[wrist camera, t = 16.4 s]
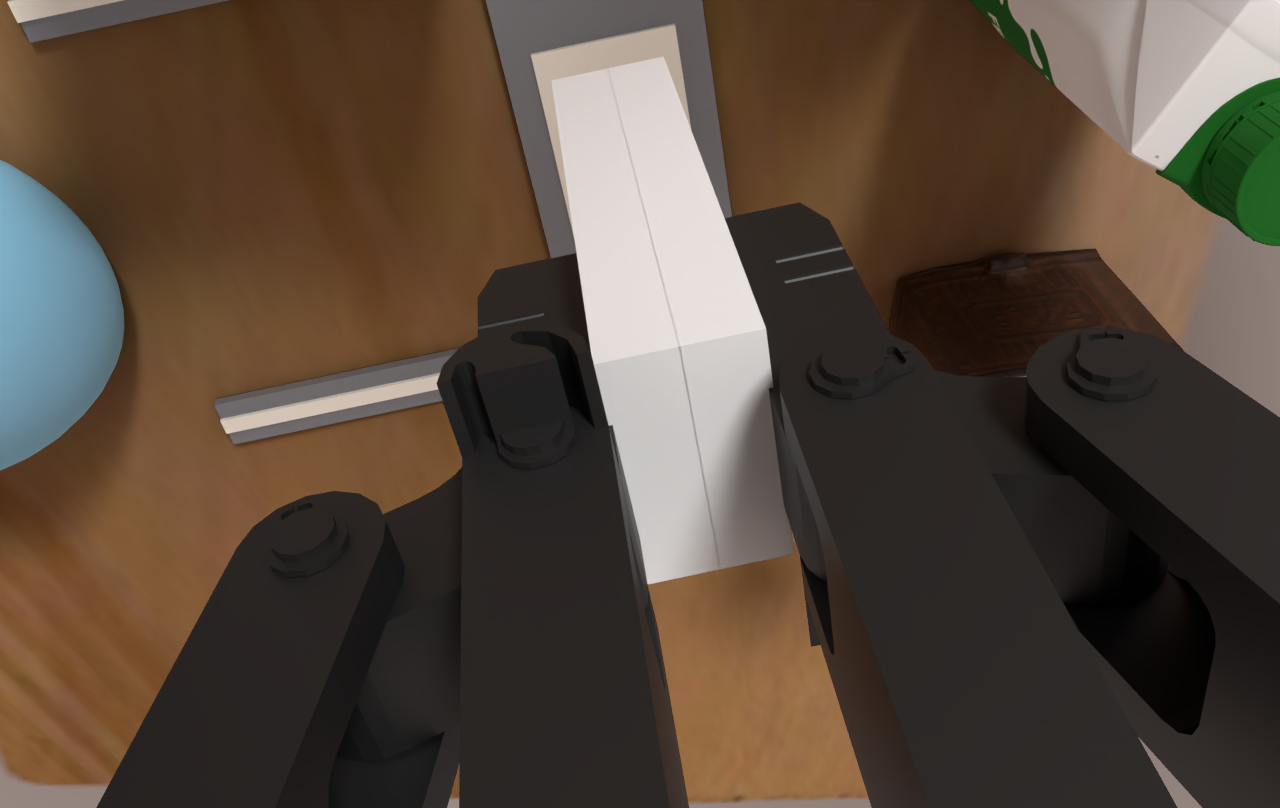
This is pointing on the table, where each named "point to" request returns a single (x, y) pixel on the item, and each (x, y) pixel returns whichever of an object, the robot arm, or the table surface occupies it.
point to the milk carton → (1171, 89)
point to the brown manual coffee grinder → (1011, 309)
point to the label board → (531, 57)
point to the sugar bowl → (50, 317)
